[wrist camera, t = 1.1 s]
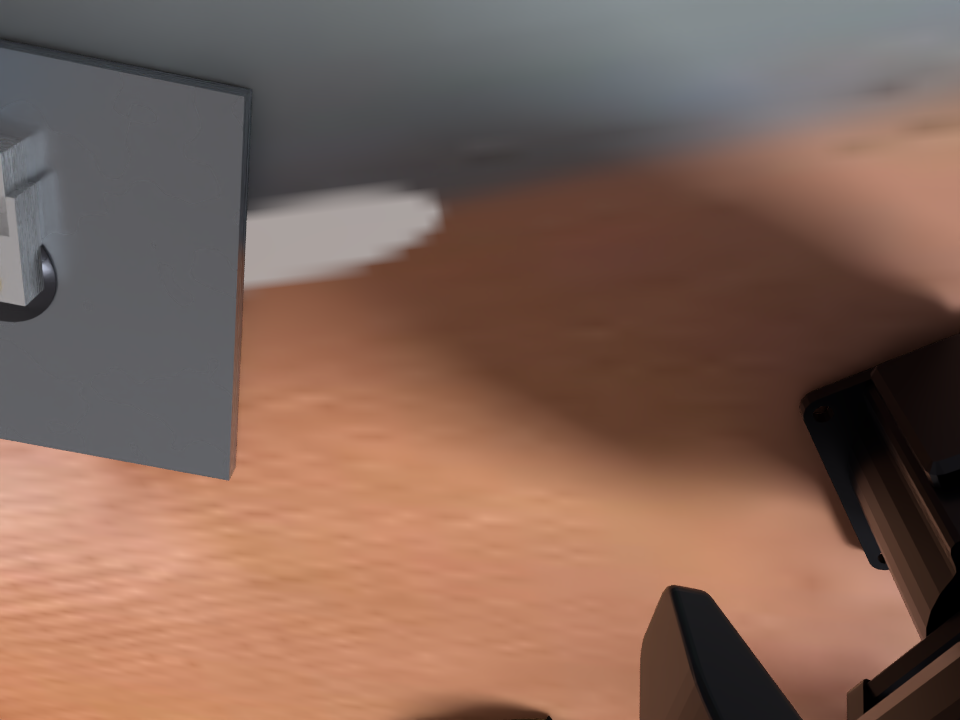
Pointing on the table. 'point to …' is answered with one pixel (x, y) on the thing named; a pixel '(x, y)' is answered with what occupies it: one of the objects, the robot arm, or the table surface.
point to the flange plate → (121, 259)
